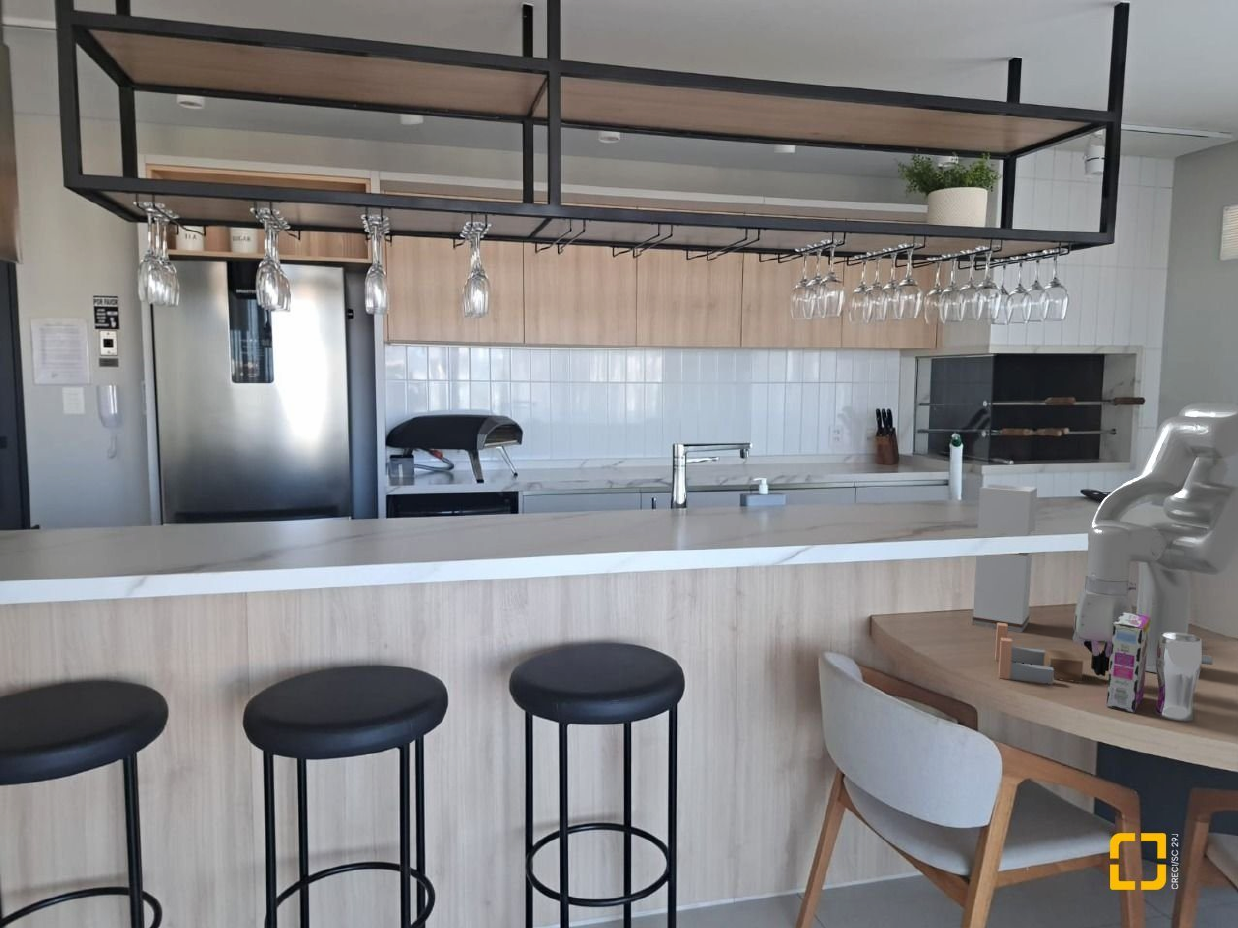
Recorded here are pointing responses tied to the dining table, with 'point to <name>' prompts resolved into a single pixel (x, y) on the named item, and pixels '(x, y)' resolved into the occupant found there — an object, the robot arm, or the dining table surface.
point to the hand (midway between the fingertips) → (1099, 673)
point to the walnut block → (1064, 664)
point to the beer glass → (1177, 674)
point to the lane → (1020, 660)
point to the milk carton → (1128, 661)
